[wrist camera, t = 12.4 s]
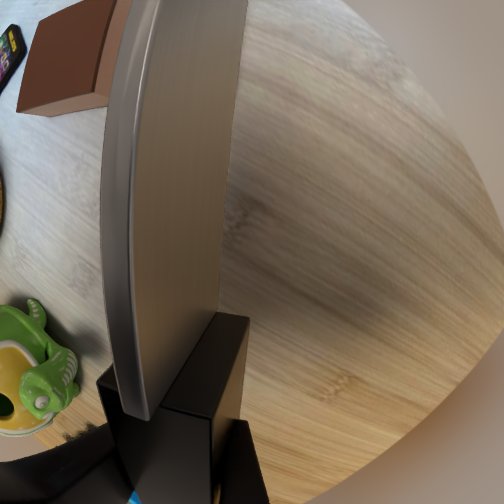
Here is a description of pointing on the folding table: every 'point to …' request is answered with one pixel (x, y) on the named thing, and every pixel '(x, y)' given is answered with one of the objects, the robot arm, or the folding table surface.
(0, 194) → the planter
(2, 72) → the smartphone
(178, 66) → the knife
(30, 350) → the turtle holder
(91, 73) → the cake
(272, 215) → the folding table surface
